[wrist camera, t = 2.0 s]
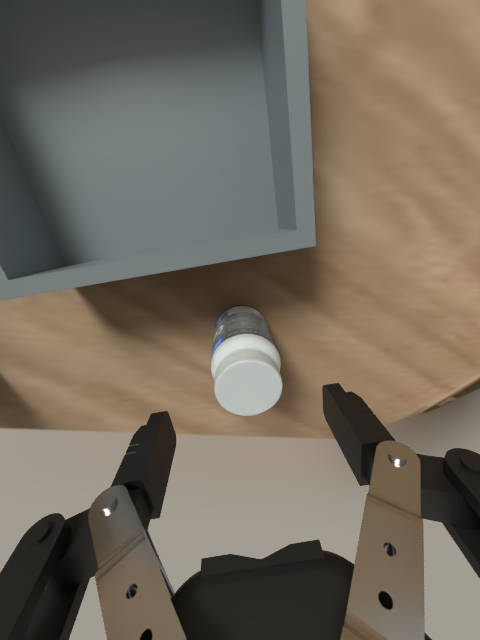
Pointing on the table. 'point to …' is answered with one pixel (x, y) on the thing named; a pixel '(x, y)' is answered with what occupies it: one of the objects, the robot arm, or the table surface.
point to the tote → (150, 137)
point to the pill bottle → (245, 362)
